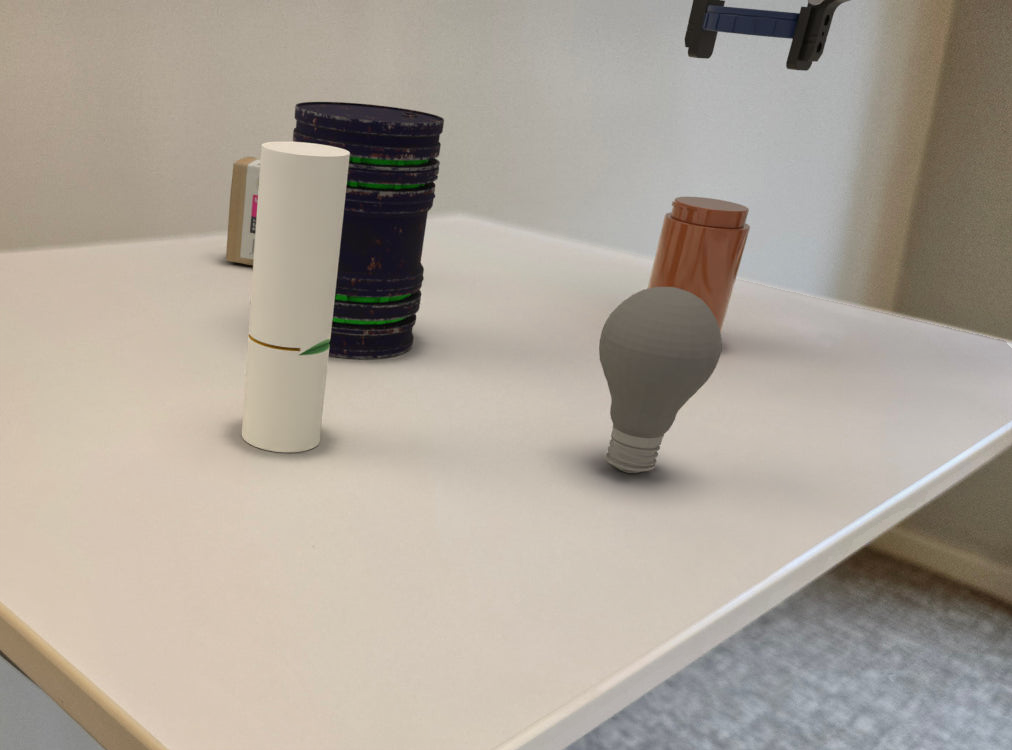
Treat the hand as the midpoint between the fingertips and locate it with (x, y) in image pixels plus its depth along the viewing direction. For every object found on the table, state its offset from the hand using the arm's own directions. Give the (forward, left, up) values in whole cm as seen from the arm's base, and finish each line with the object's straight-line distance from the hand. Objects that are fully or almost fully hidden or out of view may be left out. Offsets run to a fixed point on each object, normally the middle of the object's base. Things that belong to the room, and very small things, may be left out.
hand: (747, 63), depth 74 cm
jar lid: (0, 0, +3) cm, 3 cm away
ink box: (+15, -29, -20) cm, 38 cm away
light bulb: (+26, +13, -20) cm, 35 cm away
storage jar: (+24, -12, -20) cm, 33 cm away
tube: (+40, 0, -20) cm, 44 cm away
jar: (0, 0, -20) cm, 20 cm away
